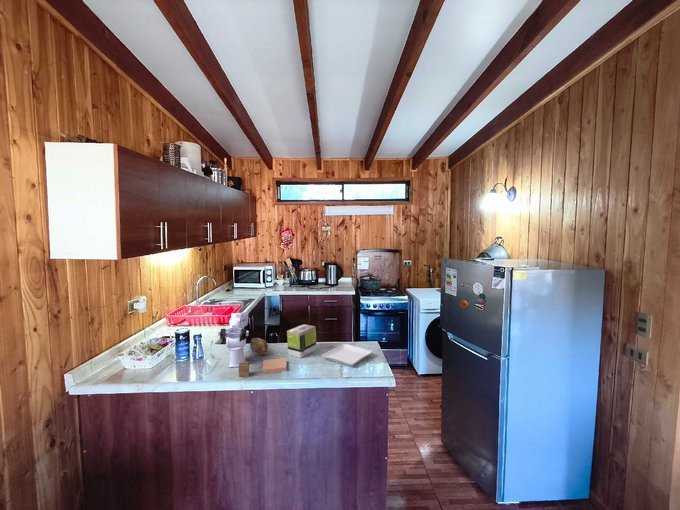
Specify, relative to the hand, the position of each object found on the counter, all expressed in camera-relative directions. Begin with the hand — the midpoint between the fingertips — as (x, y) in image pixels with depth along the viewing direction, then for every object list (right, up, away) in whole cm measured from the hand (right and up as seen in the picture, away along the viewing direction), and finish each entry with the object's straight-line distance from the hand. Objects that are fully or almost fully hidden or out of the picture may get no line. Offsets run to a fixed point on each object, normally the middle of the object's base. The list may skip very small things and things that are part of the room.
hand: (231, 339), depth 155 cm
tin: (+4, -18, +36) cm, 41 cm away
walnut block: (+4, -20, +7) cm, 21 cm away
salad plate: (+56, -18, +27) cm, 65 cm away
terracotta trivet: (+17, -19, +16) cm, 30 cm away
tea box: (+30, -17, +36) cm, 49 cm away
